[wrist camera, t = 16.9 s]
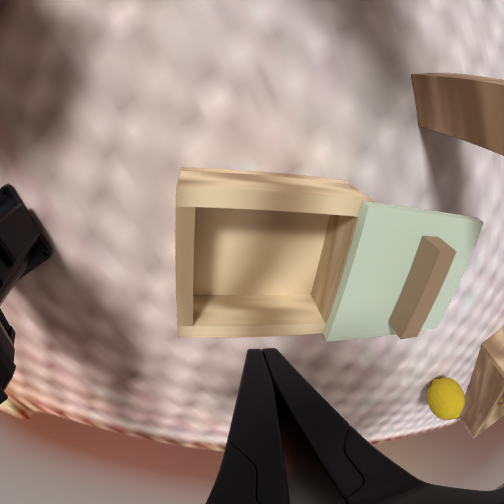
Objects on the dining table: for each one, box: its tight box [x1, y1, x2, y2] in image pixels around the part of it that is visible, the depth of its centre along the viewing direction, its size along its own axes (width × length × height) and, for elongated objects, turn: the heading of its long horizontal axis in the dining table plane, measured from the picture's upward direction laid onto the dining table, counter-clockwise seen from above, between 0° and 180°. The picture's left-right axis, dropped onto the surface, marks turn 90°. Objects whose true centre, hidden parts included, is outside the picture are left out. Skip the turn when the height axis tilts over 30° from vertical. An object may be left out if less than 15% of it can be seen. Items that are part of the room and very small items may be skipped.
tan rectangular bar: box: [411, 73, 504, 156], centre depth 12 cm, size 4×4×14 cm
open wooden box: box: [176, 168, 374, 337], centre depth 20 cm, size 11×10×4 cm
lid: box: [323, 201, 483, 342], centre depth 19 cm, size 11×10×3 cm
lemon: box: [427, 377, 465, 420], centre depth 35 cm, size 6×6×8 cm
